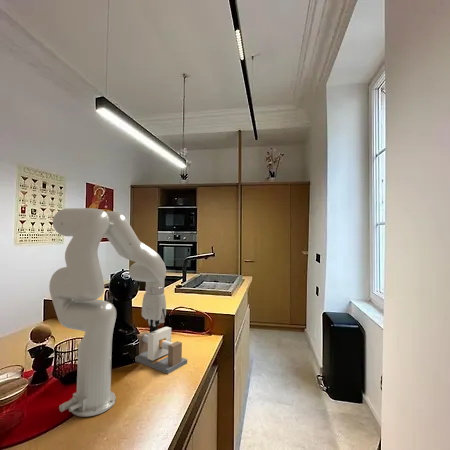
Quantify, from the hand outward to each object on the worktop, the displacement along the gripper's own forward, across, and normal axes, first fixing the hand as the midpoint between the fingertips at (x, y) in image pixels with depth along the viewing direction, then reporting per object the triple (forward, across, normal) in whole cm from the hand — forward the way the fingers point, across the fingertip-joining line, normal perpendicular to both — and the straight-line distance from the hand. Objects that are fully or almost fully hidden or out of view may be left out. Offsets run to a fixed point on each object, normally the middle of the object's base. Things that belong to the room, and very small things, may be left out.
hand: (153, 335), depth 120 cm
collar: (+7, +4, 0) cm, 8 cm away
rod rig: (+10, +3, 0) cm, 10 cm away
